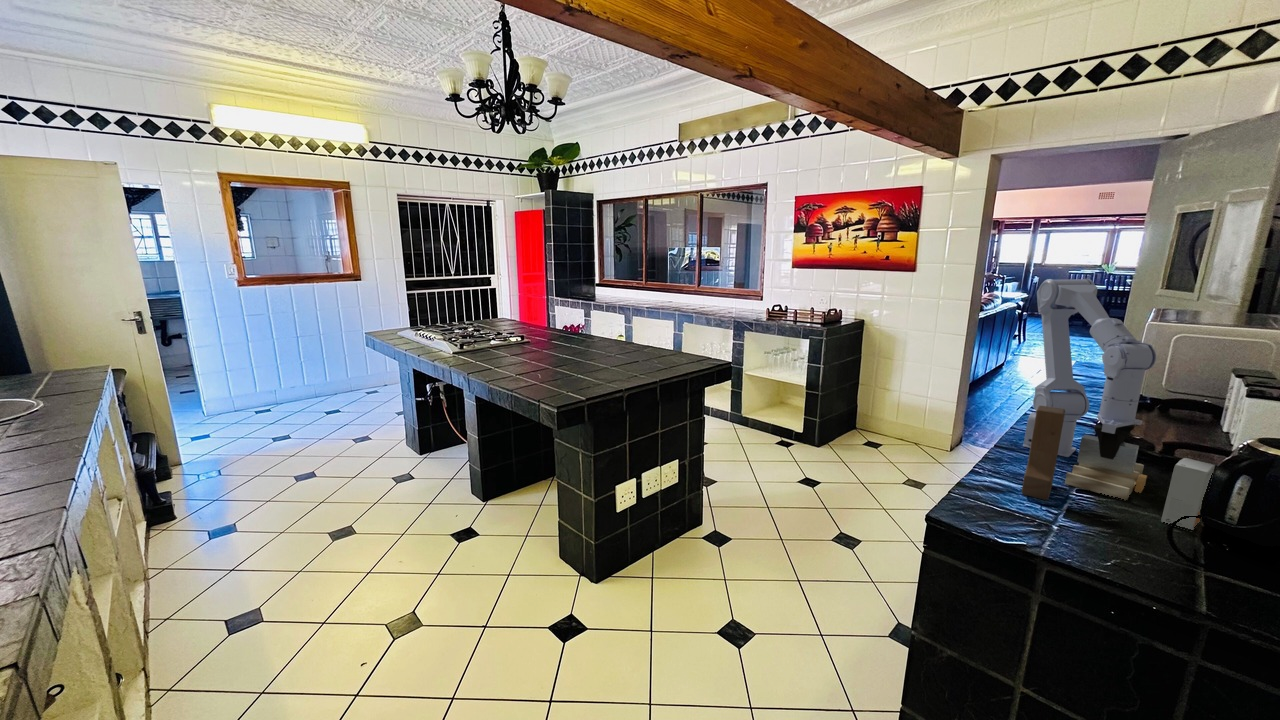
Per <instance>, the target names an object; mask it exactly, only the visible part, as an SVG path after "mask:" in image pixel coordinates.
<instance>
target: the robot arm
mask: <svg viewBox="0 0 1280 720" xmlns="http://www.w3.org/2000/svg"><path fill="white" fill-rule="evenodd" d="M1097 294H1098V287H1097V286H1096V285H1095V282H1094V281H1093V280H1092V279H1090V278H1082V279H1081V278H1080V279H1073V278H1072V279H1053V278H1049V279H1048V278H1047V279H1045V280H1044V281H1043V282H1042V283H1041V284H1040V285H1039V288H1038V289H1037V291H1036V298H1037V299H1036V300H1037V301H1036V302H1037V311H1038V314H1040V315H1041V325H1042V340H1043V351H1044V365H1045V377H1046V379H1045V380H1044V381H1042V382H1041V383H1040V384H1039V383H1038V384H1037V386H1035V388H1034V397H1033V400H1032V405H1033V409H1034V410H1035V412H1034V411H1032V412H1030V414H1029V416H1028V418H1027V422H1026V428H1025V434H1024V438H1023V439H1024V440H1023V444H1022V447H1024V448H1026V449H1027V448H1029V449H1030V447H1031V441H1032V435H1033V429H1034V423H1035V417H1036V411H1037V409H1038V407H1039V406H1047V407H1053V408H1060V409H1064V410H1065V415H1064V421H1063V427H1062V432H1061V438H1060V444H1059V449H1058V455H1057V456H1061V457H1065V458H1069V457H1071V455H1072V454H1073V453H1074V452H1075V451H1076V450H1077V447H1074V446H1073V442H1074V436H1075V431H1076V426H1077V421H1080V420H1081V418H1082V417H1084V416H1086V415H1087V413H1088V412H1089V409H1090V401H1089V398H1088V397H1087V394H1086V390H1085V386H1084V385H1083V384H1081V383H1079V382H1078V381H1077V380H1075V378H1074V372H1073V362H1072V349H1071V339H1070V338H1071V337H1070V327H1069V325H1070V324H1069V319H1070V318H1071V316H1072V315H1075V314H1077V313H1079V314H1080V315H1081V317H1083V318H1084V320H1086V322H1087V323H1088V324H1089V325H1090V326H1091V327H1090V329H1089V334H1090V336H1091V337H1092V339H1093V340H1094V341H1095V343H1096V344H1097V345H1098V347H1100V349H1101V350H1102V352H1103V353H1102V355H1101V360H1102V364H1103V366H1104V367H1103V373H1104V376H1105V381H1104V386H1103V392H1102V396H1101V402H1100V407H1099V412H1098V413H1097V416H1096V418H1097V419H1098V420H1099V422H1098V423H1099V424H1097V423H1096V424H1095V425H1094V426H1093V429H1094V433H1096V437H1098V440H1099V450H1100V456H1101V457H1103V458H1107V459H1112V460H1113V459H1114V457H1115V456H1116V454H1117V452H1118V449H1119V447H1120V445H1121V443H1122V442H1124V443H1125V440H1126V438H1127V437H1128V436H1129V435H1130V434H1131V432H1132V431H1133V430H1134V429H1135V427H1136V425H1138V426H1142V424H1143V420H1141V419H1136V417H1137V416H1136V415H1137V411H1138V406H1139V400H1140V397H1141V391H1142V387H1143V381H1144V378H1145V371H1148V370H1150V369H1151V368H1153V367H1154V365H1155V364H1156V362H1157V353H1156V350H1155V348H1154V347H1153V346H1152V344H1151V343H1147V342H1143V341H1141V340H1138V339H1136V337H1135V336H1134V335H1133V334H1132V332H1131V331H1130V330H1129V329H1128V328H1127V327H1126V326H1125V324H1124V322H1123V321H1122V320H1121V319H1118V318H1116V317H1115V318H1113V317H1110V316H1109V314H1108V312H1107V311H1106V310H1105V308H1104V306H1103V305H1102V304H1101V302H1100V301H1099V299H1098V297H1097Z"/></svg>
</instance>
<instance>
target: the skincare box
mask: <svg viewBox="0 0 1280 720" xmlns="http://www.w3.org/2000/svg"><path fill="white" fill-rule="evenodd" d="M1215 467H1216V465H1215V464H1212V463H1208V462H1203V461H1199V460H1195V459H1192V458H1187V457H1183V458H1182V459H1179V461H1178V462H1177V463H1176V464H1175V465H1174V468H1173V472H1172V475H1171V478H1170V484H1169V488H1168V492H1167V496H1166V500H1165V503H1164V507H1163V510H1162V511H1163V512H1162V516H1161V519H1160V522H1161V523H1163V522H1165V523H1164V524H1166V523H1168V524H1167V525H1169V524H1170V523H1173V522H1175V521H1177V520H1178V519H1180V518H1181V517H1184V516H1198V515H1200V509H1201V504H1202V500H1203V497H1204V494H1205V492H1206V489H1207V486H1208V483H1209V480H1210V478H1211V475H1212V473H1213V474H1214V472H1215V471H1214V470H1215ZM1212 476H1213V475H1212ZM1199 522H1200V523H1201V521H1200V519H1199V518H1196V517H1189V518H1186V519H1182V520H1180V521H1179V522H1177V523H1176V525H1177V526H1180V527H1185V528H1188V529H1191V530H1193V531H1194V529H1195V528H1196V527H1197V526H1198V525H1197V523H1199ZM1200 523H1199V524H1200ZM1196 525H1197V526H1196ZM1195 526H1196V527H1195ZM1194 527H1195V528H1194Z"/></svg>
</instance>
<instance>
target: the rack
mask: <svg viewBox="0 0 1280 720" xmlns="http://www.w3.org/2000/svg"><path fill="white" fill-rule="evenodd" d="M1144 466H1145V464H1142V463H1139V462H1138V463H1137V462H1136V463H1135V467H1134V472H1133V473H1132V475H1128V474H1124V473H1120V472H1116V471H1112V470H1108V469H1104V468H1100V467H1096V466H1092V465H1088V464H1083V463H1079V462H1078V464H1074V465H1073V466H1072V472H1069V471H1067V472H1066V474H1065V479H1064V480H1065V481H1064V484H1065V485H1067V486H1071V487H1075V488H1079V489H1083V490H1086V491H1089V490H1090V491H1089V492H1094V493H1098V494H1100V493H1102V494H1101V495H1104V494H1105V495H1104V496H1107V495H1109V496H1108V497H1111V496H1113V497H1112V498H1115V497H1118V498H1121V499H1120V500H1122V499H1124V500H1123V501H1126V500H1127V501H1128V499H1129V497H1130V496H1129V495H1131V494H1132V493H1133V491H1135V493H1138V492H1139V493H1138V494H1141V493H1142V492H1143V490H1144V489H1145V487H1144V486H1146V483H1147V478H1148V475H1146V474H1143V472H1144ZM1135 485H1136V486H1135ZM1118 498H1117V499H1118Z"/></svg>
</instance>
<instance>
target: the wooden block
mask: <svg viewBox="0 0 1280 720" xmlns="http://www.w3.org/2000/svg"><path fill="white" fill-rule="evenodd" d="M1035 413H1036V417H1035V423H1034V429H1033V435H1032V441H1031V447H1030V448H1029V455H1028V459H1027V463H1026V468H1025V472H1024V475H1023V483H1022V487H1021V494H1022V495H1024V496H1027V497H1031V498H1036V499H1039V500H1044V501H1049V498H1050V494H1051V491H1052V487H1053V482H1054V477H1055V471H1056V467H1057V466H1056V465H1057V459H1058V456H1059V455H1058V449H1059V444H1060V438H1061V432H1062V427H1063V421H1064V415H1065V410H1064V409H1060V408H1053V407H1047V406H1039V407H1038V409H1037V411H1036V410H1035Z"/></svg>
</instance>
